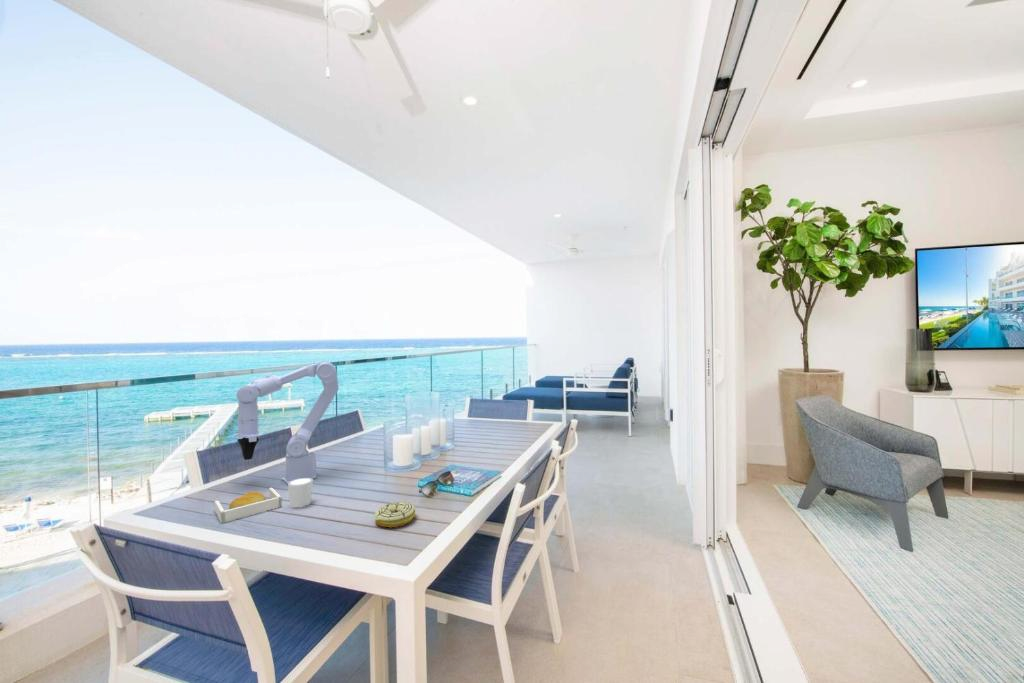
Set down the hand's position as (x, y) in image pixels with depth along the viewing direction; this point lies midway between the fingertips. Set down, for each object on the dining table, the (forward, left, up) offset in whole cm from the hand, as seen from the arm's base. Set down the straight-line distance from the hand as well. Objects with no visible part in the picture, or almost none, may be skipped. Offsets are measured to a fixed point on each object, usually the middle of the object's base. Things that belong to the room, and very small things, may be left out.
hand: (248, 459), depth 131 cm
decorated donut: (-23, +60, -10) cm, 65 cm away
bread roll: (+4, +20, -10) cm, 22 cm away
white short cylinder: (-8, +29, -10) cm, 32 cm away
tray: (+4, +22, -9) cm, 24 cm away
